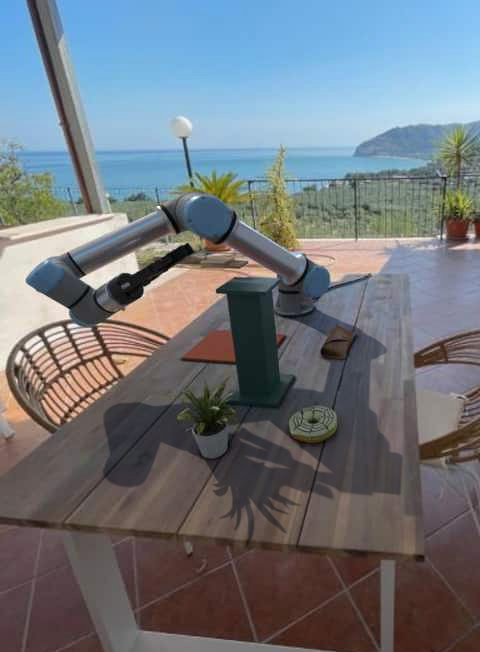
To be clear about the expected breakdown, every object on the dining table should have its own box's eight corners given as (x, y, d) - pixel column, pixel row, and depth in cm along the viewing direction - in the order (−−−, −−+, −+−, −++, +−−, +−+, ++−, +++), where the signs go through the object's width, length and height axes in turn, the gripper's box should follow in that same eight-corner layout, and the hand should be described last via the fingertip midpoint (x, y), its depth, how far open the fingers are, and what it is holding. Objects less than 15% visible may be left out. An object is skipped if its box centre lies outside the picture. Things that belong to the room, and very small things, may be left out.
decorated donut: (293, 415, 93) (292, 402, 91) (338, 415, 93) (338, 402, 91) (285, 446, 83) (284, 431, 81) (336, 446, 83) (335, 431, 81)
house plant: (170, 488, 72) (153, 416, 67) (171, 441, 84) (157, 376, 78) (248, 465, 78) (239, 396, 72) (239, 424, 90) (230, 362, 84)
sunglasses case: (347, 358, 117) (335, 340, 116) (328, 366, 120) (316, 349, 118) (358, 333, 134) (348, 317, 132) (341, 341, 136) (332, 325, 135)
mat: (213, 332, 136) (213, 329, 136) (285, 336, 133) (284, 334, 133) (181, 359, 118) (181, 357, 118) (263, 365, 115) (263, 363, 114)
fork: (163, 260, 98) (162, 252, 97) (249, 263, 95) (248, 255, 94) (149, 266, 93) (147, 258, 92) (239, 269, 90) (238, 261, 89)
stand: (246, 373, 110) (234, 274, 100) (294, 377, 108) (286, 276, 98) (223, 402, 97) (206, 292, 87) (277, 407, 96) (266, 295, 85)
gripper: (149, 294, 107) (212, 254, 101) (109, 315, 94) (179, 271, 87) (131, 271, 106) (195, 229, 99) (88, 288, 92) (158, 241, 85)
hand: (187, 249), depth 93 cm, fingers closed on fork, 2 cm apart
